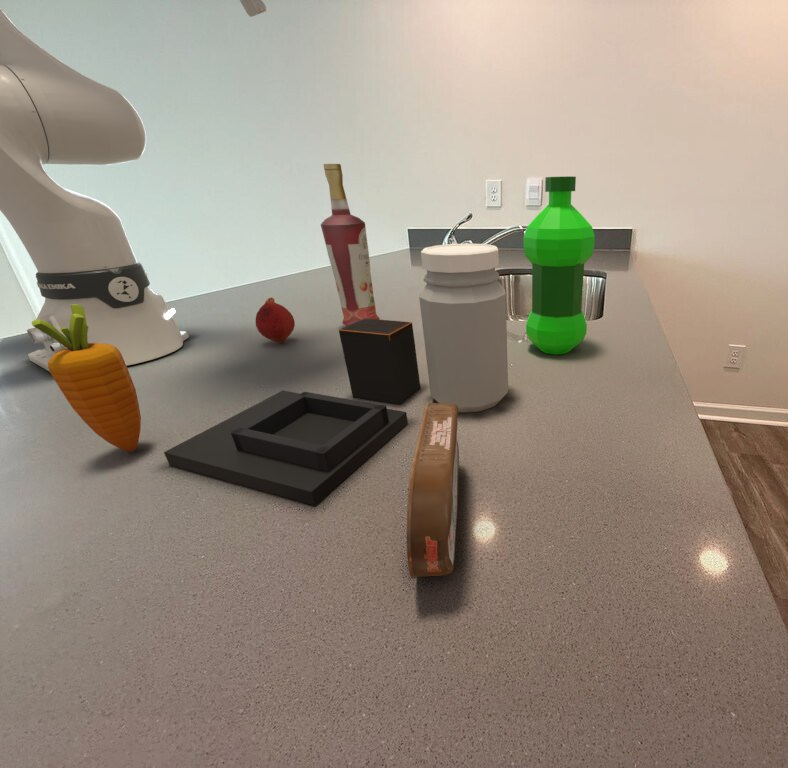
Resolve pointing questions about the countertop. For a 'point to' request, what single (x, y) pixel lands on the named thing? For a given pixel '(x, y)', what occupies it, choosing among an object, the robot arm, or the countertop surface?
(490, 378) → the jar
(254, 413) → the base pad
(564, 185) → the plastic bottle
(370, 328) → the pad block
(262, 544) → the countertop surface
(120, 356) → the carrot
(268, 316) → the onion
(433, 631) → the countertop surface
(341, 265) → the liquor
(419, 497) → the tin
